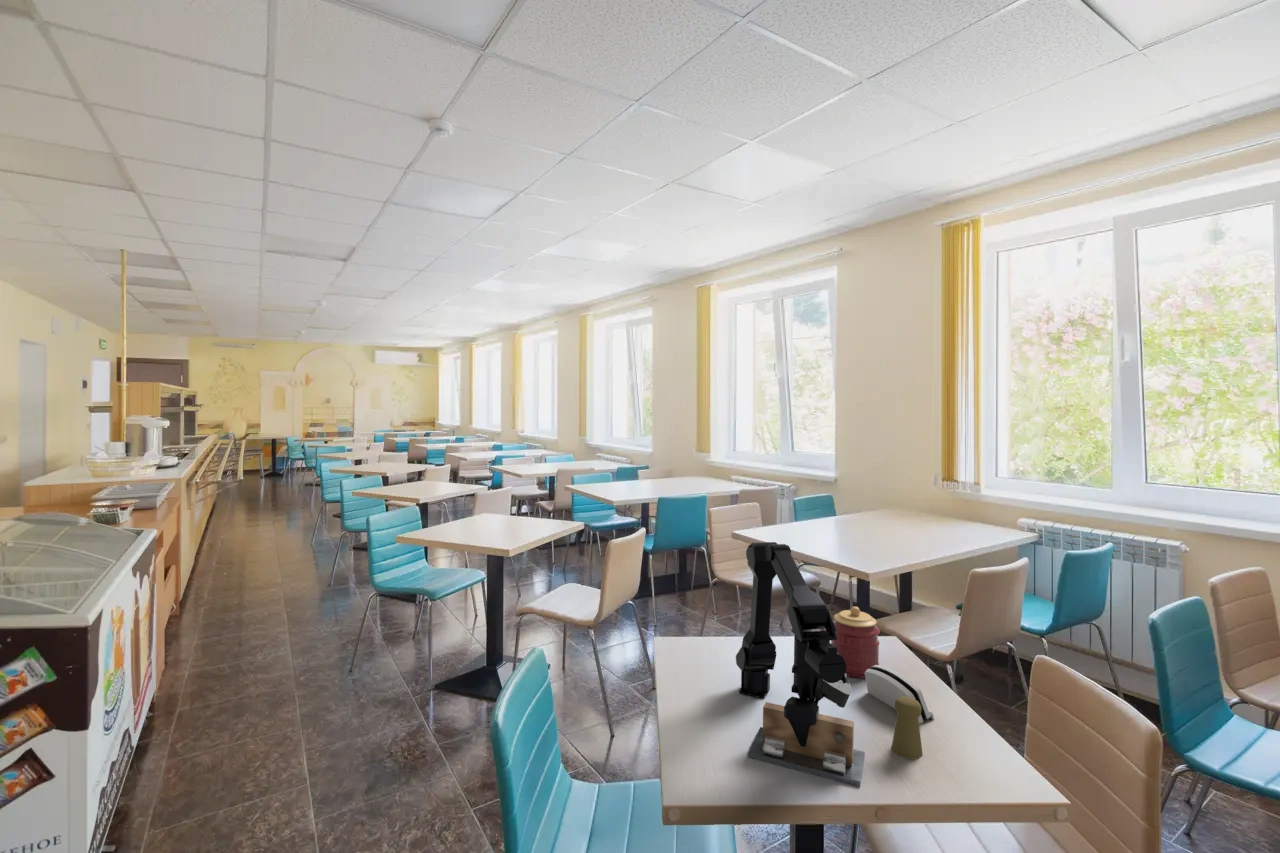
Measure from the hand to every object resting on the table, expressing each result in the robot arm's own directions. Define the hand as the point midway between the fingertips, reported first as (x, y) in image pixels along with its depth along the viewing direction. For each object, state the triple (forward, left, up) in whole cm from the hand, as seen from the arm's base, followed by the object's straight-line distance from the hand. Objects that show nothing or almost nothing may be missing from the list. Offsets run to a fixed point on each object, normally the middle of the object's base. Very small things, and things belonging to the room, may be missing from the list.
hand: (806, 735), depth 122 cm
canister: (+5, +50, -5) cm, 50 cm away
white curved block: (+16, +32, -5) cm, 36 cm away
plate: (0, 0, -4) cm, 4 cm away
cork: (+19, +12, -5) cm, 23 cm away
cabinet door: (0, 0, -4) cm, 4 cm away
